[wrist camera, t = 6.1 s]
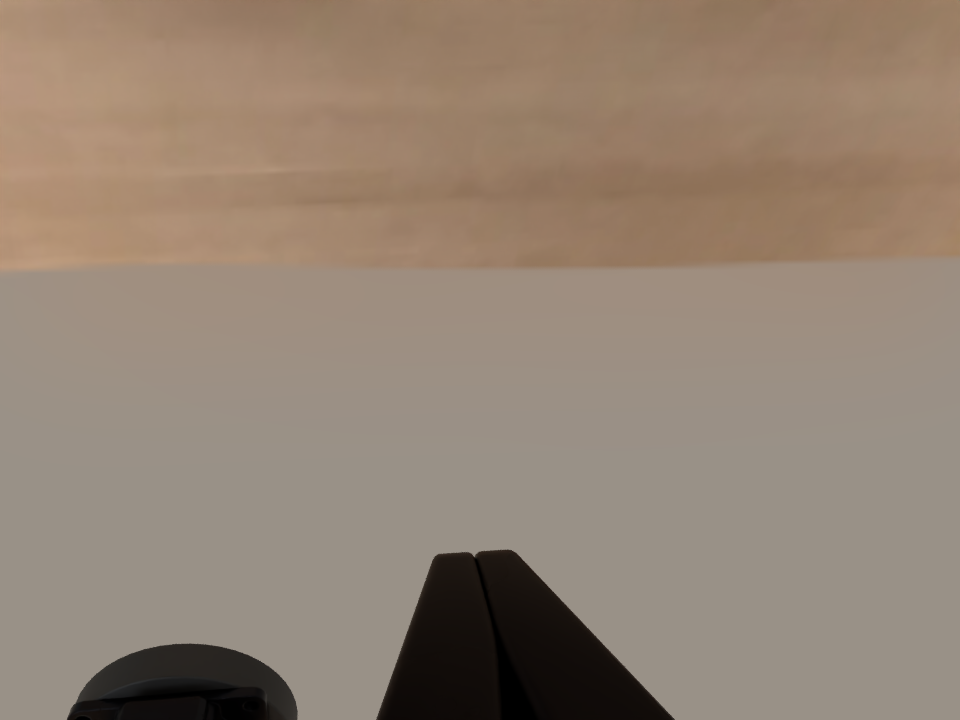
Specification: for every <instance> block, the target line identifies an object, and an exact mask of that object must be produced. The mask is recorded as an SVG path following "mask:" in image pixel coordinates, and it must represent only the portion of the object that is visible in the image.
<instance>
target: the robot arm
mask: <svg viewBox="0 0 960 720" xmlns="http://www.w3.org/2000/svg"><path fill="white" fill-rule="evenodd" d="M67 720H270V716H269V707H268V699H267V694H266V691H264V690H263V689H262V688H259V687H252V686H251V687H240V688H228V689H216V690H205V691H193V692H182V693H170V694H159V695H147V696H135V697H124V698H112V699H101V700H89V701H82V702H78V703H76V704H74V705H73V707H72V708H71V710H70V713H69V715H68V718H67ZM376 720H675V719H674V718H673V717H672V716H671V715H670V714H669V713H668V712H667V711H666V710H665V709H664V708H663V707H662V706H661V705H660V704H659V703H658V701H657V700H656V699H655V698H654V697H653V696H652V695H651V694H650V693H649V692H648V691H647V690H646V689H645V688H644V687H643V686H642V685H641V684H640V683H639V681H637V679H636V678H635V677H634V676H633V675H632V674H631V673H630V672H629V671H628V670H627V669H626V668H625V667H624V666H623V665H622V664H621V663H620V662H619V661H618V659H617V658H616V657H615V656H614V655H613V654H612V653H611V652H610V651H609V650H608V649H607V648H606V647H605V646H604V645H603V644H602V643H601V642H600V640H599V639H597V637H596V636H595V635H594V634H593V633H592V632H591V631H590V630H589V629H588V628H587V627H586V626H585V625H584V624H583V623H582V622H581V621H580V619H579V618H578V617H577V616H576V615H575V614H574V613H573V612H572V611H571V610H570V609H569V608H568V607H567V606H566V605H565V604H564V603H563V602H562V601H561V600H560V598H559V597H558V596H557V595H556V594H555V593H554V592H553V591H552V590H551V589H550V588H549V587H548V586H547V585H546V584H545V583H544V582H543V581H542V580H541V578H540V577H539V576H538V575H537V574H536V573H535V572H534V571H533V570H532V569H531V568H530V567H529V566H528V565H527V564H526V563H525V562H524V561H523V560H522V559H521V557H520V556H519V555H518V554H517V553H515V552H513V551H512V550H494V551H481V552H478V553H477V554H476V555H475V557H474V556H473V555H472V554H471V553H469V552H462V553H447V554H438V555H437V556H435V557H434V559H433V561H432V564H431V566H430V569H429V572H428V575H427V578H426V581H425V583H424V586H423V589H422V592H421V595H420V598H419V600H418V604H417V606H416V609H415V612H414V615H413V618H412V620H411V623H410V626H409V629H408V631H407V634H406V637H405V640H404V643H403V646H402V648H401V651H400V654H399V657H398V660H397V663H396V665H395V668H394V671H393V674H392V677H391V679H390V683H389V685H388V688H387V691H386V694H385V696H384V699H383V702H382V705H381V708H380V711H379V713H378V716H377V719H376Z"/></svg>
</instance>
